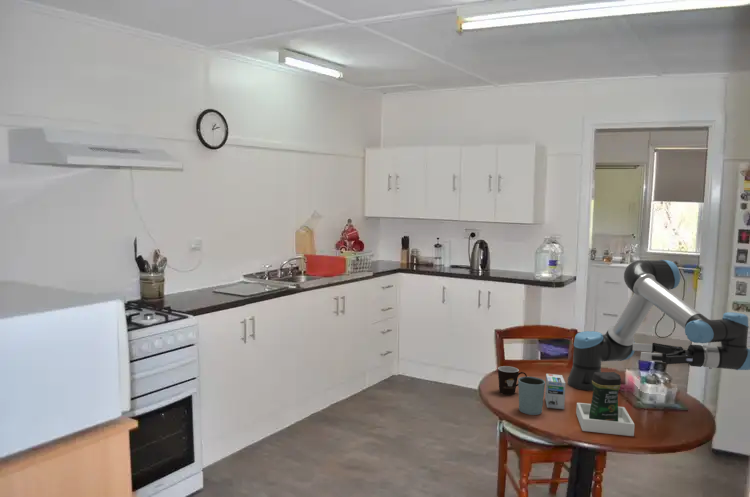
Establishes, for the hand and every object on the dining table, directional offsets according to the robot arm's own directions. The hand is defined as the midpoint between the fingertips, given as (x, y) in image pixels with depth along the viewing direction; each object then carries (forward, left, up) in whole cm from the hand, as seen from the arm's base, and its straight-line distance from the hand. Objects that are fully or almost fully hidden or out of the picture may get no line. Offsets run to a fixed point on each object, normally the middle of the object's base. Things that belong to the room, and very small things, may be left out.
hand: (636, 351), depth 207 cm
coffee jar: (+8, -6, -27) cm, 29 cm away
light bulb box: (+10, -29, -28) cm, 41 cm away
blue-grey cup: (+24, -27, -28) cm, 46 cm away
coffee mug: (+18, -46, -28) cm, 56 cm away
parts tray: (+8, -6, -28) cm, 29 cm away
